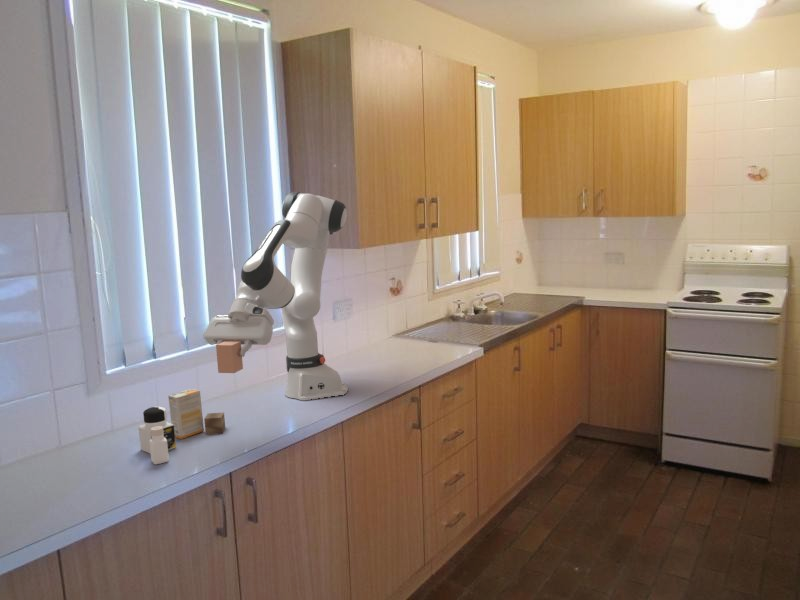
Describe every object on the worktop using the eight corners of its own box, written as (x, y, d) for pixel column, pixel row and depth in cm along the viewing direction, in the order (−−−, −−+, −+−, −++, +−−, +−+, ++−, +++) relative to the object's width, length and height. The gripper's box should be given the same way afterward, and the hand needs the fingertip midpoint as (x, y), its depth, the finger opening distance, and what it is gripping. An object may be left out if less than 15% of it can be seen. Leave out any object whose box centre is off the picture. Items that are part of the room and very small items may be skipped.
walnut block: (225, 427, 202) (224, 412, 202) (222, 433, 197) (221, 417, 197) (208, 429, 202) (207, 413, 201) (205, 434, 197) (204, 418, 196)
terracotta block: (227, 368, 188) (225, 341, 187) (243, 368, 187) (240, 341, 186) (218, 372, 184) (215, 345, 183) (234, 373, 182) (231, 345, 181)
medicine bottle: (153, 455, 182) (148, 414, 180) (140, 450, 186) (136, 409, 184) (176, 447, 187) (172, 407, 185) (163, 442, 192) (159, 403, 190)
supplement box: (195, 428, 203) (191, 387, 201) (204, 431, 200) (200, 390, 198) (171, 436, 196) (167, 394, 194) (180, 439, 193) (176, 397, 191)
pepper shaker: (166, 457, 180) (162, 424, 178) (169, 462, 176) (166, 428, 175) (150, 461, 178) (147, 427, 176) (154, 465, 174) (150, 431, 173)
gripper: (208, 309, 193) (192, 348, 185) (271, 309, 188) (258, 350, 180) (217, 321, 198) (202, 360, 190) (279, 321, 193) (266, 361, 185)
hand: (230, 355), depth 185 cm, fingers closed on terracotta block, 5 cm apart
